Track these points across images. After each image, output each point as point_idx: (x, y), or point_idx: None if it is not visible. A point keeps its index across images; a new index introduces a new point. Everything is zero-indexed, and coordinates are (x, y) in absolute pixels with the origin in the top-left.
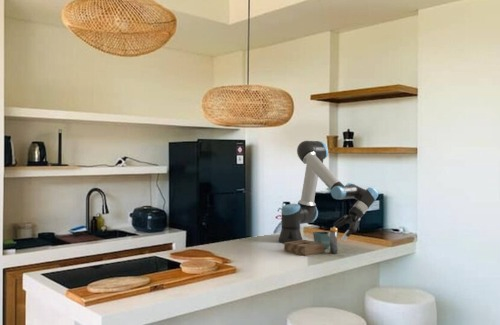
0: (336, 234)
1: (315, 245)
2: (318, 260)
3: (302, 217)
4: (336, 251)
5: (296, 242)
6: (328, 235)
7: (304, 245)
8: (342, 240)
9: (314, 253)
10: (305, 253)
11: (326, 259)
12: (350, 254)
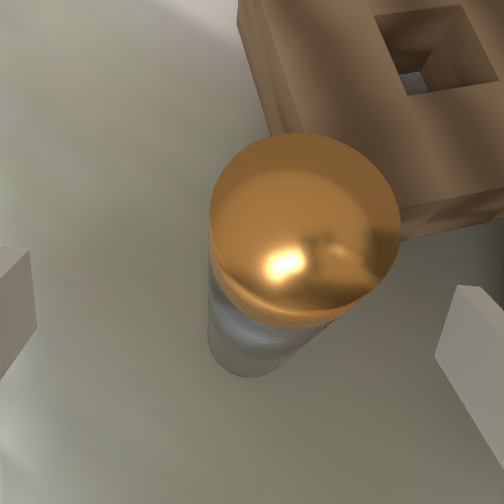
0: (211, 278)
1: (284, 78)
2: (37, 19)
3: None
4: (209, 342)
5: (490, 4)
6: (455, 301)
7: None
8: (29, 297)
9: (269, 120)
10: (239, 10)
11: (30, 92)
12: (92, 487)
